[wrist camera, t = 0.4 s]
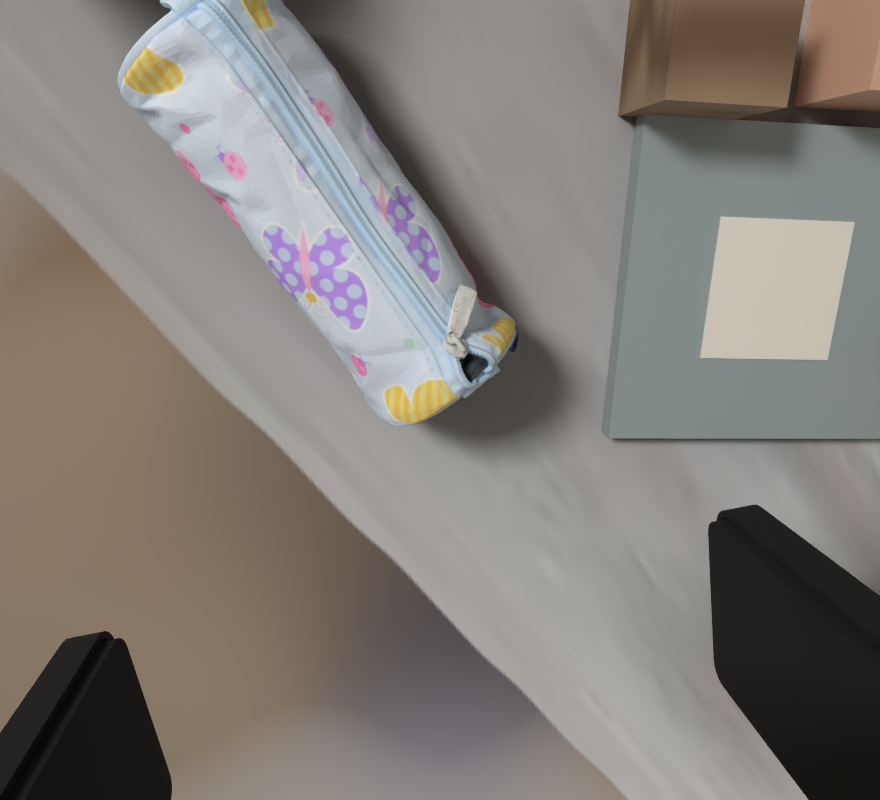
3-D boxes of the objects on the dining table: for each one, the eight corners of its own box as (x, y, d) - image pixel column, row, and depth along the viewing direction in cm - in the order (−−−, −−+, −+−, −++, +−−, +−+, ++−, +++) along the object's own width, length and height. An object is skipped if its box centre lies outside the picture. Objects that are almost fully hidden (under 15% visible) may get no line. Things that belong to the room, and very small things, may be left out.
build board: (636, 117, 37) (645, 114, 36) (937, 134, 39) (956, 132, 38) (601, 432, 42) (609, 438, 41) (871, 432, 44) (886, 439, 43)
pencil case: (509, 324, 39) (553, 359, 30) (389, 411, 40) (397, 471, 31) (275, -14, 34) (243, -96, 24) (138, 95, 34) (58, 55, 25)
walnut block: (630, -9, 35) (682, -50, 30) (739, 0, 36) (811, -38, 30) (617, 116, 37) (664, 99, 31) (722, 122, 38) (787, 107, 32)
